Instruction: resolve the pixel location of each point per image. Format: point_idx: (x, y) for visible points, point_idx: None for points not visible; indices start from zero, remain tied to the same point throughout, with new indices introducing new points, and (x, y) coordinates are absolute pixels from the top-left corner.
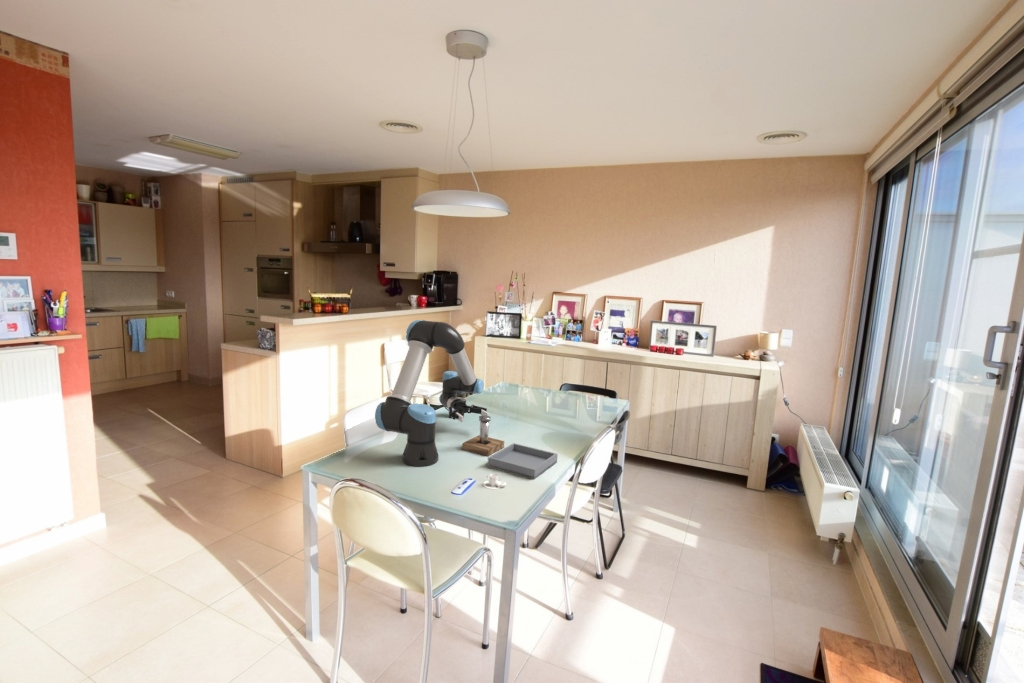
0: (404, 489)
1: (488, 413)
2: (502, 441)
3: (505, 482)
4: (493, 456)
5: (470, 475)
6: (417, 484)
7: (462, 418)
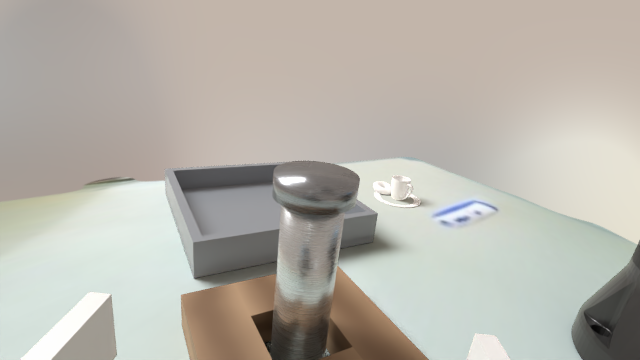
0: (623, 245)
1: (93, 295)
2: (194, 295)
3: (375, 182)
4: (355, 214)
5: (441, 231)
6: (595, 248)
7: (477, 355)
